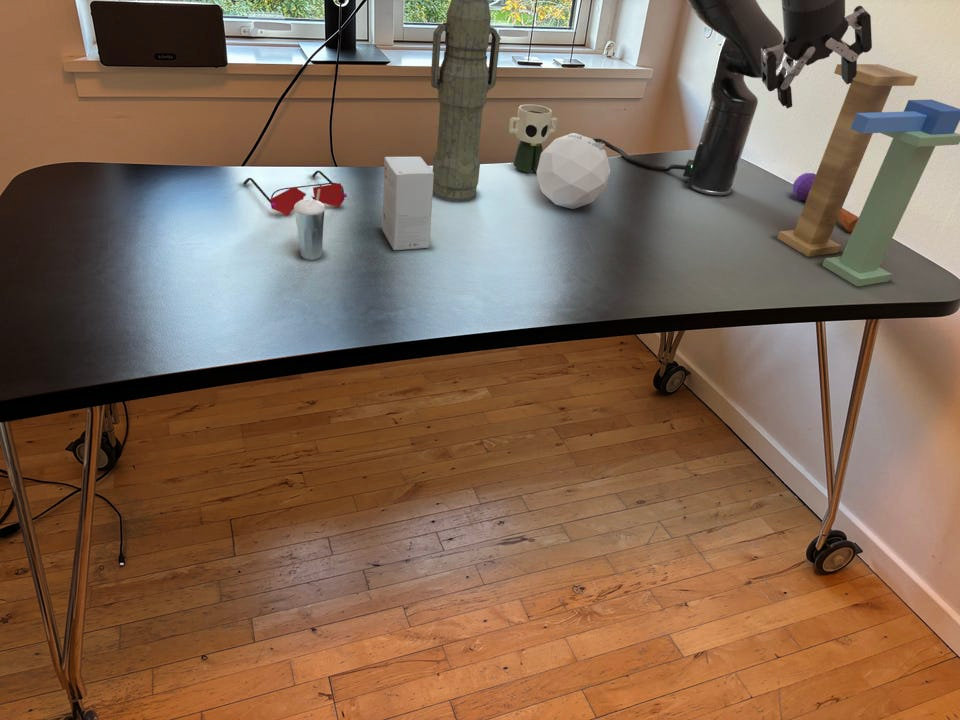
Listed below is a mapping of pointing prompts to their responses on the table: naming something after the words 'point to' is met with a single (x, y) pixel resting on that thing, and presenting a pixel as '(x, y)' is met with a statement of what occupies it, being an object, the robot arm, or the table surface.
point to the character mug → (531, 134)
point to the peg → (911, 119)
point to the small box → (407, 202)
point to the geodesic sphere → (573, 170)
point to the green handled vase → (462, 96)
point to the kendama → (802, 191)
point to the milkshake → (310, 226)
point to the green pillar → (886, 206)
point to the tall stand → (842, 159)
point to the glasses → (293, 195)
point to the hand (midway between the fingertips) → (816, 92)
